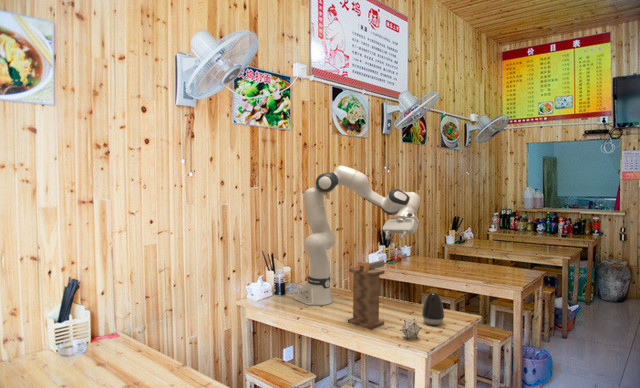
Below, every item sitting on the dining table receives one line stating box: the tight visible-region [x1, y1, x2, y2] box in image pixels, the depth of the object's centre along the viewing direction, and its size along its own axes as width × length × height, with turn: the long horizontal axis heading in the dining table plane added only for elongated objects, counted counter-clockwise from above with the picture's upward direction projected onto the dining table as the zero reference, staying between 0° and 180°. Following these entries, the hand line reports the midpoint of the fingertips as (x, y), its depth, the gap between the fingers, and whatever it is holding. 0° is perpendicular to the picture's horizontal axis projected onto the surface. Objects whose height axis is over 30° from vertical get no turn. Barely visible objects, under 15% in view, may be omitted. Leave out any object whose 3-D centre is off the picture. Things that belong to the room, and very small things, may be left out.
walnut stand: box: [347, 266, 385, 331], centre depth 206 cm, size 14×10×26 cm
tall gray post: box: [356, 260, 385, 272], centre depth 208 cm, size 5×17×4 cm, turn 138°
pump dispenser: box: [421, 291, 445, 326], centre depth 208 cm, size 10×10×15 cm
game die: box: [399, 317, 423, 341], centre depth 189 cm, size 9×8×10 cm
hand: (393, 238), depth 227 cm, fingers open, 8 cm apart
